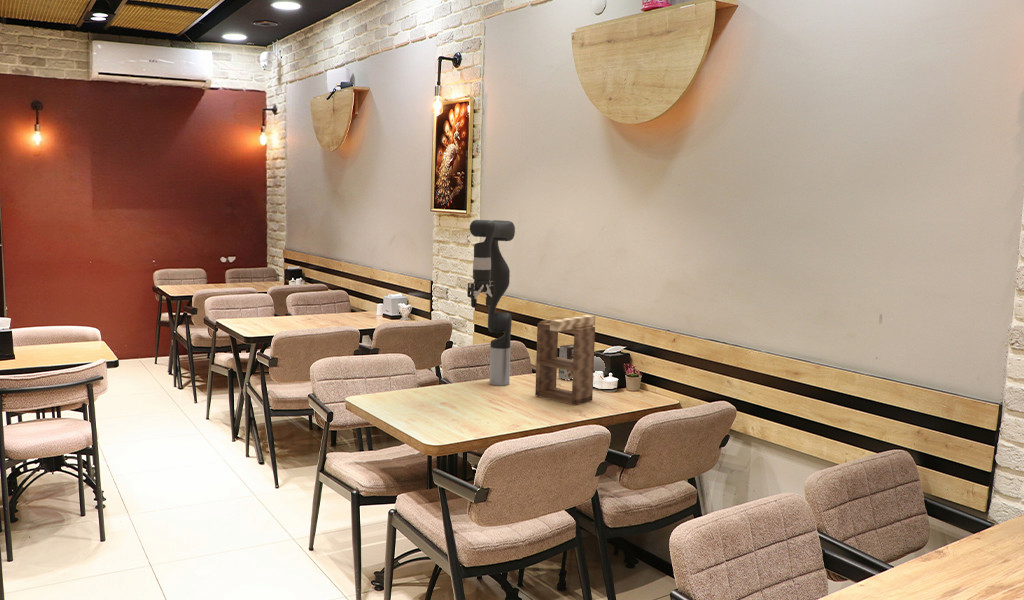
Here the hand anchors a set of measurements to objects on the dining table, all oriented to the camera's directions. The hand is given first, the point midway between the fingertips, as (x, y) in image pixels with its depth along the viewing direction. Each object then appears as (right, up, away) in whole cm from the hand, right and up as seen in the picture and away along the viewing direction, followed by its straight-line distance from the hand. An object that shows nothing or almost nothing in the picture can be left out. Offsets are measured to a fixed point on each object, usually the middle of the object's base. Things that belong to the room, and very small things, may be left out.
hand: (481, 306), depth 331 cm
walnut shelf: (+35, -40, +13) cm, 55 cm away
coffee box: (+41, -35, +50) cm, 74 cm away
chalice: (+56, -38, +34) cm, 76 cm away
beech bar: (+39, -9, +2) cm, 40 cm away
